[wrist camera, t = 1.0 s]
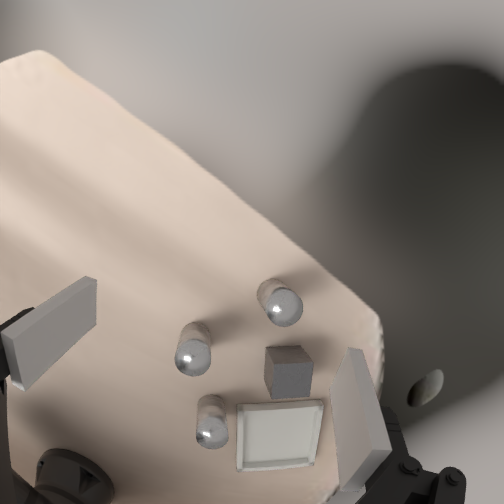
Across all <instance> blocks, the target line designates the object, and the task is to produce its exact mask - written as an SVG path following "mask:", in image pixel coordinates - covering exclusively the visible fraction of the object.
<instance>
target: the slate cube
mask: <svg viewBox="0 0 504 504" xmlns="http://www.w3.org/2000/svg"><path fill="white" fill-rule="evenodd" d="M312 371H313V361H312V360H311V358H310V357H309V356H308V355H307V353H306V352H305V351H304V349H303V348H302V347H301V346H283V347H266V351H265V370H264V380H265V383H266V386H267V388H268V391H269V394H270V397H271V399H284V398H298V397H309V396H310V389H311V380H312Z"/></svg>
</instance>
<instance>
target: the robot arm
mask: <svg viewBox="0 0 504 504" xmlns="http://www.w3.org/2000/svg"><path fill="white" fill-rule="evenodd" d="M96 290H97V280H96V279H93V278H90V277H87V276H84V277H83V278H81V279H80V280H78V281H76V282H75V283H73V284H72V285H70V286H69V287H67V288H65V289H64V290H62V291H61V292H59V293H58V294H56V295H55V296H53V297H51V298H50V299H48V300H47V301H45V302H44V303H42V304H41V305H39V306H38V307H36V308H33V307H32V308H28V309H25V310H23V311H21V312H20V313H18V314H17V315H16V316H14V317H12V318H11V319H9V320H8V321H6V322H5V323H3V324H2V325H0V504H110V503H111V501H112V498H113V494H114V487H113V484H112V482H111V480H110V479H109V477H108V476H107V475H106V473H105V472H104V471H103V470H102V469H101V468H99V467H98V466H97V465H96V464H94V463H93V462H92V461H90V460H88V459H87V458H85V457H83V456H81V455H79V454H77V453H74V452H71V451H68V450H63V449H51V450H48V451H46V452H45V453H43V455H42V456H41V458H40V459H39V461H38V464H37V471H36V481H35V487H34V488H33V487H32V486H31V485H30V484H29V483H27V482H26V481H25V480H24V479H23V478H22V477H21V476H20V475H19V474H18V473H16V472H15V471H14V470H13V469H12V468H11V461H10V452H9V441H8V427H7V383H6V379H5V378H6V377H7V376H8V375H9V374H10V376H11V380H12V383H13V385H15V386H16V387H18V388H19V389H21V390H23V391H24V392H25V391H26V390H27V389H28V388H29V387H30V386H31V385H32V384H33V383H34V382H35V381H36V380H37V379H38V378H40V377H41V376H42V375H43V374H44V373H45V372H46V371H47V370H48V369H49V368H50V367H51V366H52V365H53V364H54V363H55V362H56V361H57V360H58V359H59V358H60V357H61V356H63V355H64V354H65V353H66V352H67V351H68V350H69V349H70V348H71V347H72V346H73V345H74V344H75V343H76V342H78V341H79V340H80V339H81V338H82V337H83V336H84V335H85V334H86V333H87V332H88V331H89V330H91V329H92V328H93V327H94V326H95V325H96ZM329 391H330V398H331V406H332V415H333V423H334V432H335V441H336V451H337V461H338V472H339V483H340V491H353V492H358V491H359V490H360V489H361V488H362V487H363V486H364V484H365V487H366V493H365V494H364V495H363V496H362V497H361V498H360V499H359V500H358V501H357V502H356V503H355V504H464V501H465V492H466V478H465V476H464V474H463V473H462V472H461V471H460V470H459V469H456V468H454V467H446V468H444V469H443V470H442V471H441V472H440V473H439V474H437V473H433V472H429V471H426V470H423V469H422V466H421V464H420V462H419V461H418V460H416V459H415V458H413V457H411V456H409V454H408V450H407V447H406V444H405V441H404V438H403V434H402V433H401V428H400V426H399V422H398V419H397V416H396V414H395V413H394V412H393V411H392V410H391V408H390V407H383V406H380V405H379V402H378V399H377V395H376V392H375V389H374V386H373V382H372V379H371V376H370V373H369V370H368V367H367V363H366V360H365V357H364V354H363V351H362V350H360V349H355V348H350V347H348V348H347V351H346V353H345V355H344V358H343V360H342V362H341V364H340V367H339V369H338V371H337V373H336V376H335V378H334V380H333V382H332V384H331V386H330V389H329Z"/></svg>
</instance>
